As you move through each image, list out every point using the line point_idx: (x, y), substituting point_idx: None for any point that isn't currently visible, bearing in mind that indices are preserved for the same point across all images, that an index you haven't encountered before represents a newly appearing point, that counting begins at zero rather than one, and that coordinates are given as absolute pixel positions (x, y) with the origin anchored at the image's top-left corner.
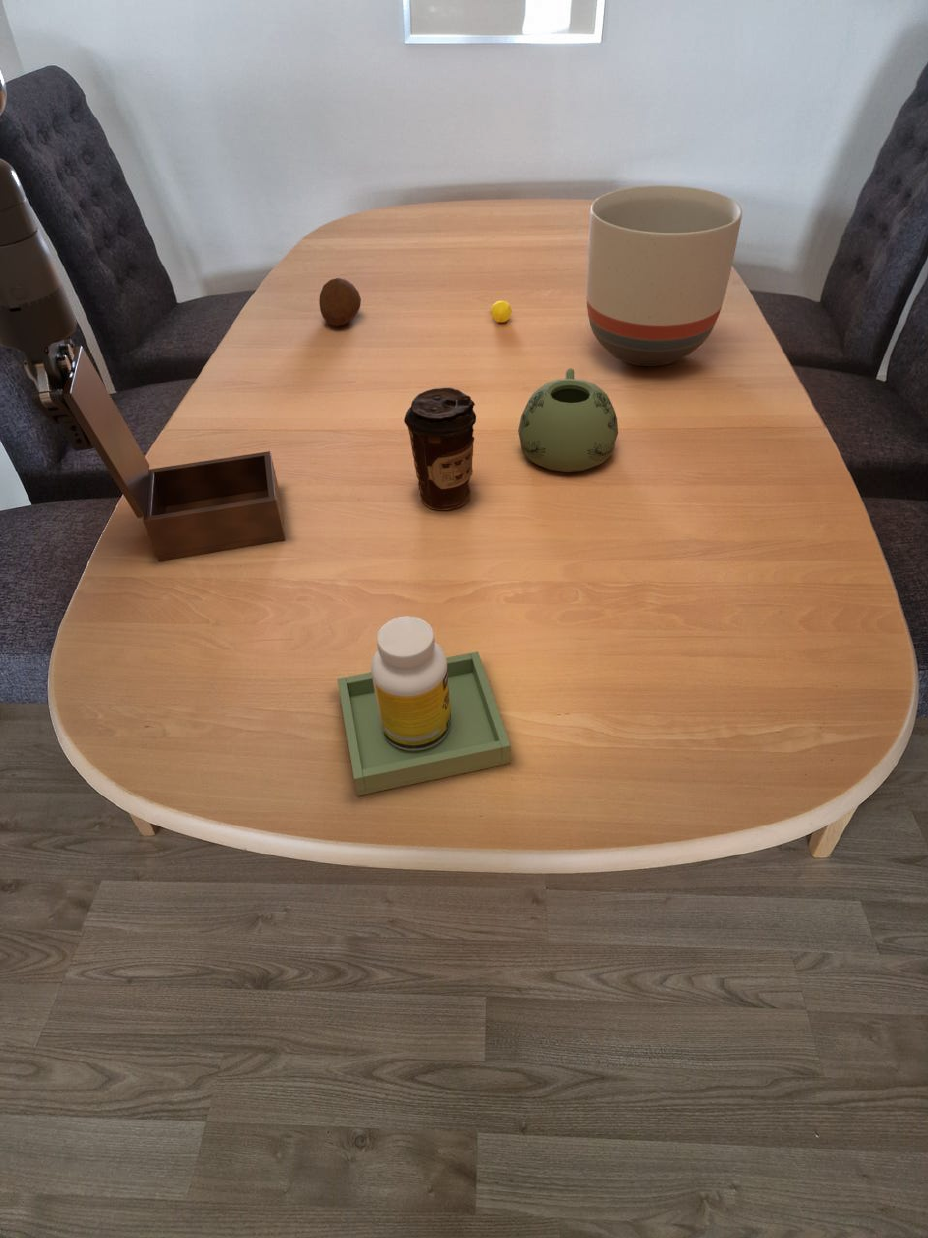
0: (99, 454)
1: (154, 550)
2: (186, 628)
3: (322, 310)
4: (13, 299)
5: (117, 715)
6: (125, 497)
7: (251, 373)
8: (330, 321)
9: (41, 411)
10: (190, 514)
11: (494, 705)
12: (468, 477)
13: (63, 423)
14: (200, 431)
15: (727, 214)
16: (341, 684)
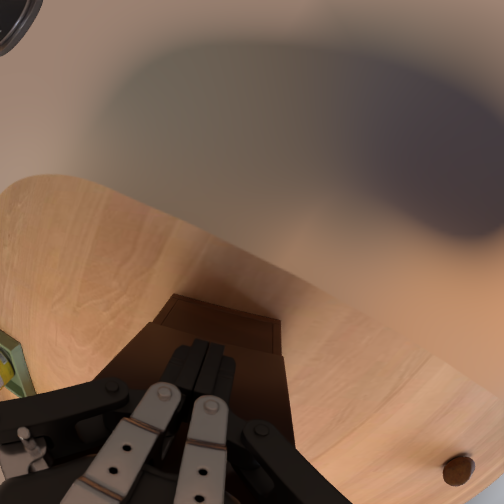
0: (96, 377)
1: (168, 300)
2: (74, 287)
3: (461, 464)
4: None
5: (17, 217)
6: (134, 337)
7: (454, 416)
8: (451, 463)
9: (26, 397)
10: None
11: (7, 388)
12: None
13: (176, 380)
14: (408, 377)
15: None
16: (8, 350)
